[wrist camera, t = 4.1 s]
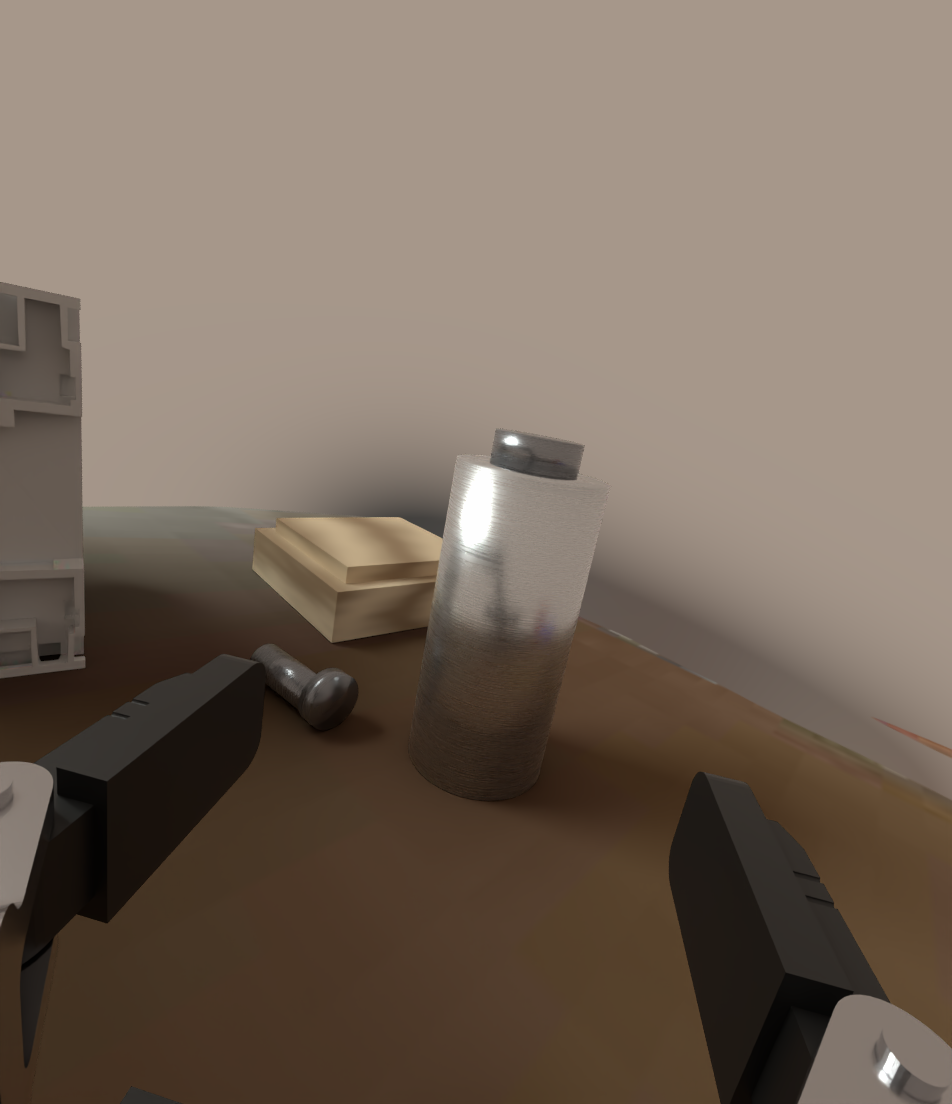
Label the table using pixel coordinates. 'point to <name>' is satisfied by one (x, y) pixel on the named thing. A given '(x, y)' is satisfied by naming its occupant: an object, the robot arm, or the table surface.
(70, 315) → the circuit breaker
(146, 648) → the table surface
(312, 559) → the stand
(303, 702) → the bolt
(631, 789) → the table surface
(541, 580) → the silver metal bottle
